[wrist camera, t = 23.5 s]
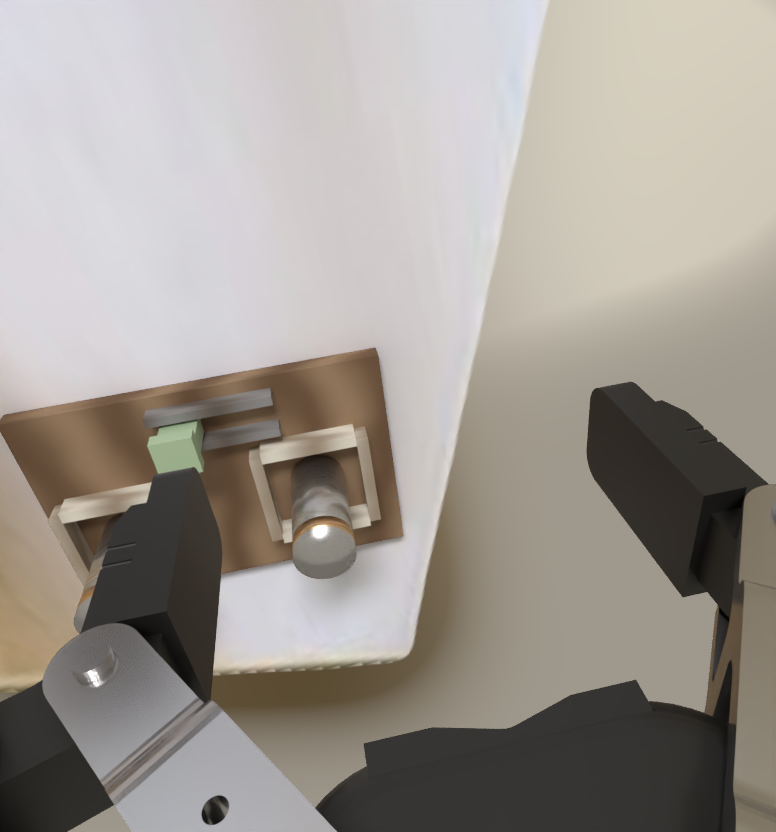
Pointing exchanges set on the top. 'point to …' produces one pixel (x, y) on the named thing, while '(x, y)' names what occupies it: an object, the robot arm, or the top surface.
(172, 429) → the green notched block
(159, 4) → the top surface
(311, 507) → the cylinder
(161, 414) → the pallet
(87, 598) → the seated billet
